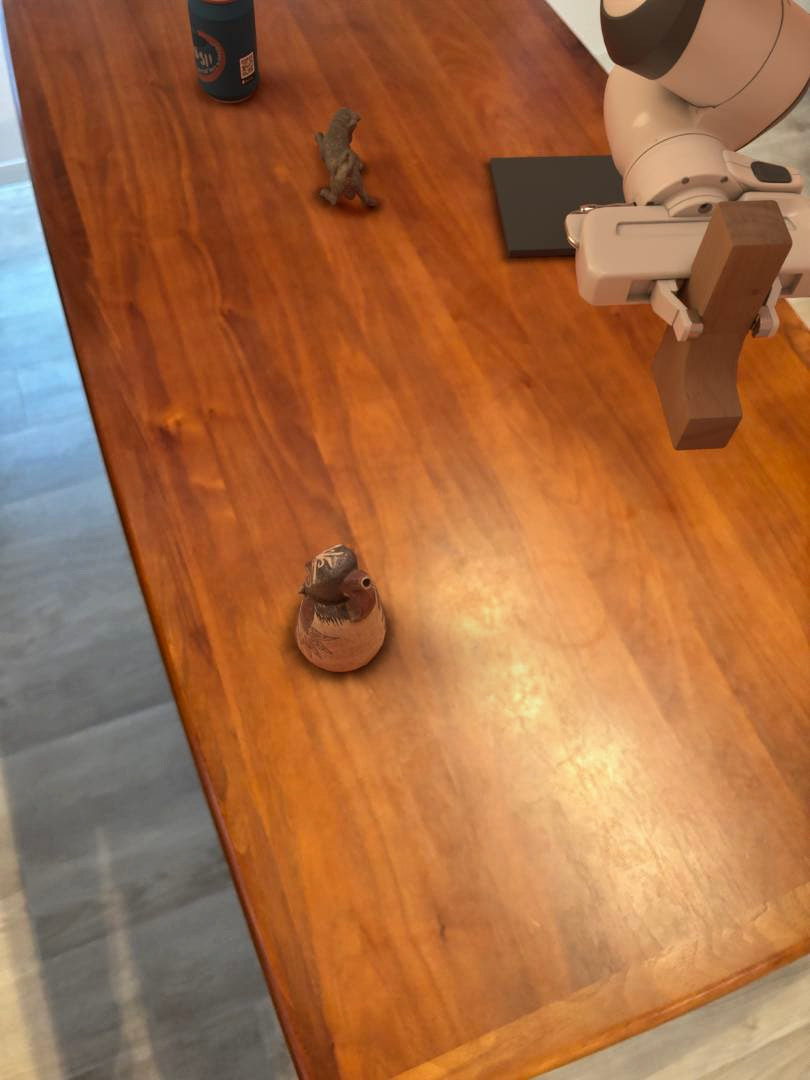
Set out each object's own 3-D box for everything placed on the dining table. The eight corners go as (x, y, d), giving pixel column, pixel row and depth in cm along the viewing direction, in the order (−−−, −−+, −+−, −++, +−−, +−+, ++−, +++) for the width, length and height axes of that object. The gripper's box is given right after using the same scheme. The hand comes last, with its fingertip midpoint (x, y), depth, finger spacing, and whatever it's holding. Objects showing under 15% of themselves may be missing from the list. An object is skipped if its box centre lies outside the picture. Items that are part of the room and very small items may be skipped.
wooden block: (726, 450, 82) (816, 292, 66) (672, 452, 81) (750, 295, 66) (699, 364, 86) (777, 197, 71) (648, 366, 86) (716, 199, 70)
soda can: (186, 86, 114) (170, -17, 104) (231, 60, 117) (220, -43, 107) (228, 115, 112) (216, 12, 102) (273, 88, 115) (266, -15, 104)
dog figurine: (379, 218, 105) (381, 160, 99) (324, 222, 104) (323, 163, 98) (364, 142, 111) (365, 82, 105) (311, 145, 110) (310, 85, 104)
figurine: (343, 578, 84) (343, 501, 73) (403, 635, 81) (412, 564, 71) (278, 631, 81) (268, 559, 71) (338, 692, 79) (337, 626, 68)
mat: (613, 162, 112) (615, 154, 111) (640, 253, 105) (643, 246, 104) (489, 165, 110) (490, 157, 109) (508, 257, 103) (509, 250, 102)
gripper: (567, 175, 78) (602, 310, 71) (819, 168, 80) (877, 298, 73) (552, 237, 83) (584, 368, 76) (789, 229, 85) (840, 356, 78)
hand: (729, 334), depth 75 cm, fingers closed on wooden block, 4 cm apart
